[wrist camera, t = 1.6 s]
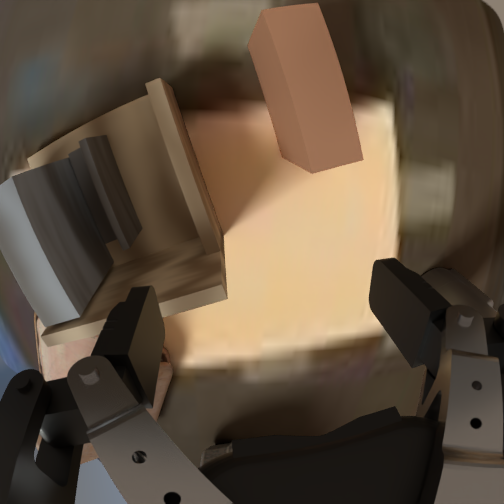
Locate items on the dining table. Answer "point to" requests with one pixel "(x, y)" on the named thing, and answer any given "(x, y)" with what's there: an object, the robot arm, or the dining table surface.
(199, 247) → the shelf
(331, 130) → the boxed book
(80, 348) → the case
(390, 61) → the dining table surface
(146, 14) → the dining table surface
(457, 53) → the dining table surface
